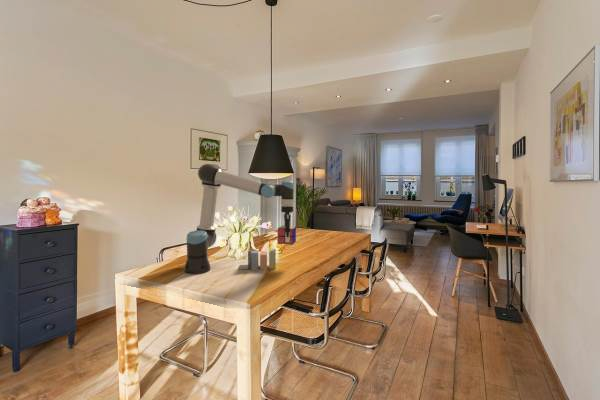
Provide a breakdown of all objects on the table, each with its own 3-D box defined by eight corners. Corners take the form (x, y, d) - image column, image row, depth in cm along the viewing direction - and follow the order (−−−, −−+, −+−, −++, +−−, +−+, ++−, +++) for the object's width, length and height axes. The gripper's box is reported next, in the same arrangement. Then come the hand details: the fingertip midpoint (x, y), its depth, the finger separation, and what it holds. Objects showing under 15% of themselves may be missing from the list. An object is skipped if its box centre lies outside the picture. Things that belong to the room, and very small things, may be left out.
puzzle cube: (293, 244, 199) (293, 228, 198) (277, 244, 200) (277, 228, 199) (295, 241, 208) (296, 226, 208) (280, 240, 210) (281, 225, 209)
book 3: (269, 268, 199) (269, 251, 198) (269, 265, 206) (269, 248, 205) (275, 268, 200) (275, 251, 199) (275, 265, 207) (275, 248, 206)
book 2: (260, 269, 198) (260, 254, 198) (260, 265, 206) (260, 251, 206) (266, 269, 199) (266, 254, 198) (267, 265, 207) (267, 251, 206)
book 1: (251, 269, 199) (251, 253, 198) (252, 265, 206) (252, 250, 205) (257, 269, 199) (257, 253, 198) (258, 265, 206) (258, 250, 205)
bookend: (238, 269, 197) (238, 251, 196) (239, 265, 206) (239, 248, 205) (250, 269, 198) (250, 251, 197) (251, 265, 206) (251, 248, 206)
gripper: (294, 207, 191) (294, 244, 193) (291, 204, 215) (291, 236, 216) (282, 207, 190) (281, 244, 192) (280, 204, 214) (280, 236, 215)
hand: (286, 240), depth 204 cm, fingers closed on puzzle cube, 11 cm apart
